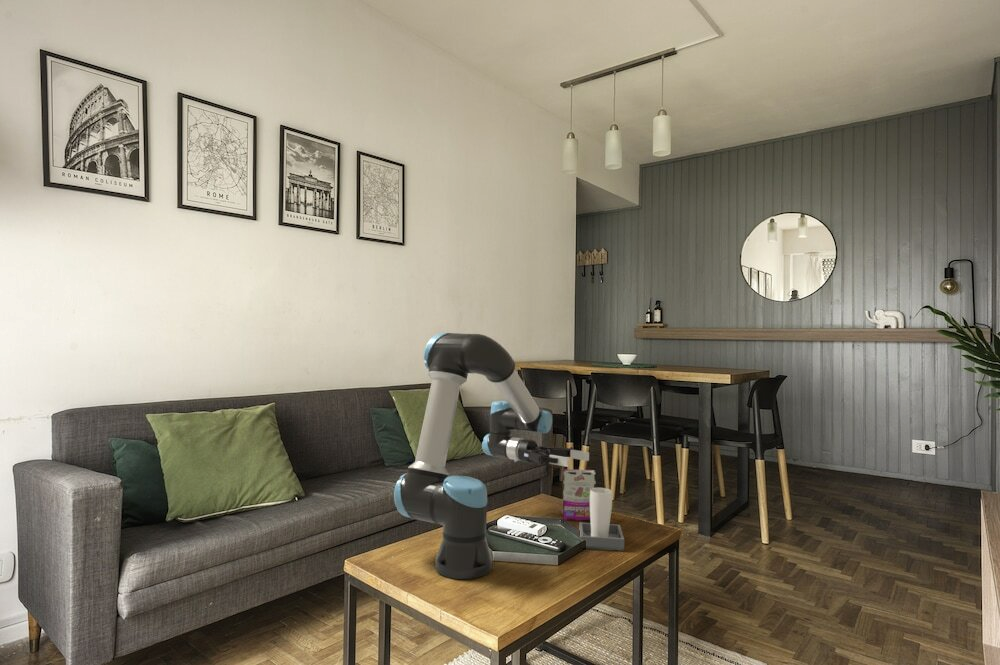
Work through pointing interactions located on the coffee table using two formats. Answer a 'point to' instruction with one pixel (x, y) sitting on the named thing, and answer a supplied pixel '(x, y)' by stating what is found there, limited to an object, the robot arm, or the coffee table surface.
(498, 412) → the robot arm
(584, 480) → the candy bar box
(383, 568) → the coffee table surface
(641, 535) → the coffee table surface
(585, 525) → the tray
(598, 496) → the white cup
